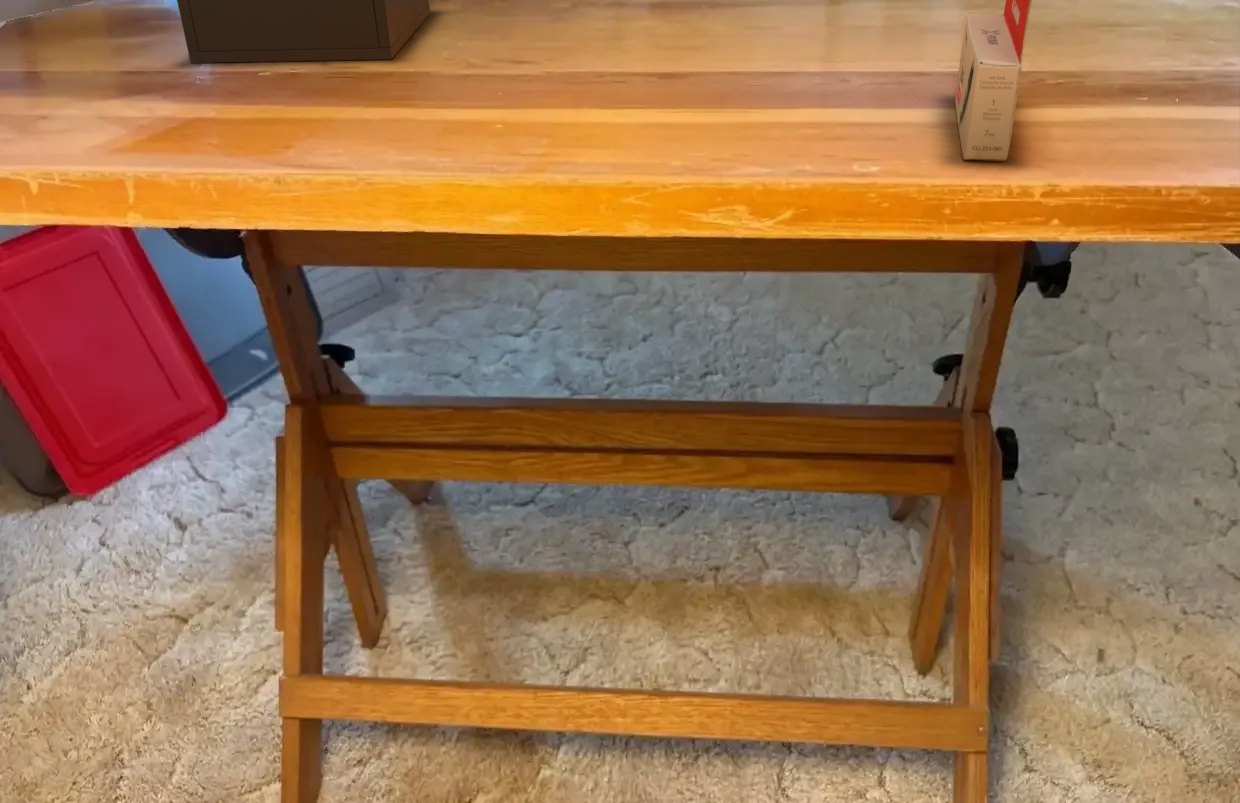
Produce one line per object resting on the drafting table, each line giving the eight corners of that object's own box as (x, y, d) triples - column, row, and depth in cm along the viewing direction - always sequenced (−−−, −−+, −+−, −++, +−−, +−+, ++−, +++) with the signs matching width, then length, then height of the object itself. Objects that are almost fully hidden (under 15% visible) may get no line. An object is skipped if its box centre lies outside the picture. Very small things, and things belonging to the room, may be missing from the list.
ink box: (962, 162, 59) (987, -36, 55) (953, 100, 69) (974, -73, 64) (1011, 164, 59) (1040, -35, 54) (996, 101, 68) (1020, -73, 63)
